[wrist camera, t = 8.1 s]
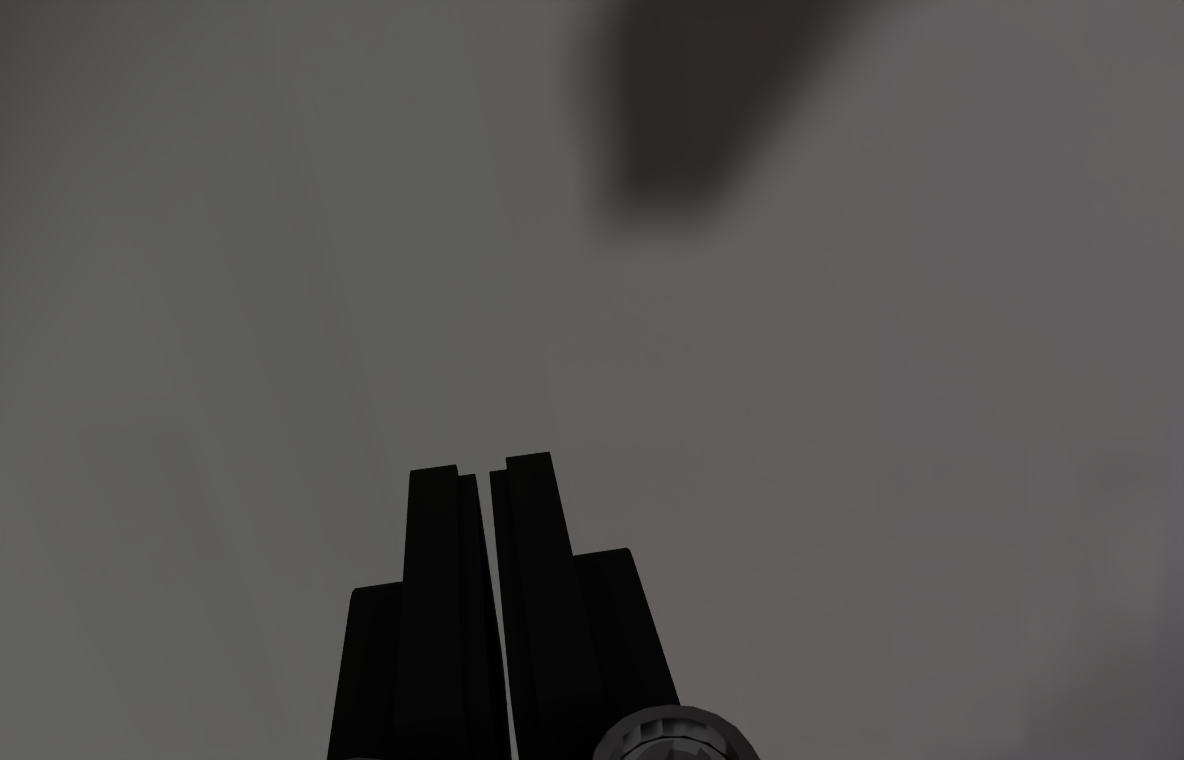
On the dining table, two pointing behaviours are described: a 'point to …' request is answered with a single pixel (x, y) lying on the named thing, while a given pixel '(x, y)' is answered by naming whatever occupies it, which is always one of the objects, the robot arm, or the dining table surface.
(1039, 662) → the dining table surface
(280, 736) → the dining table surface
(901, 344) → the dining table surface
